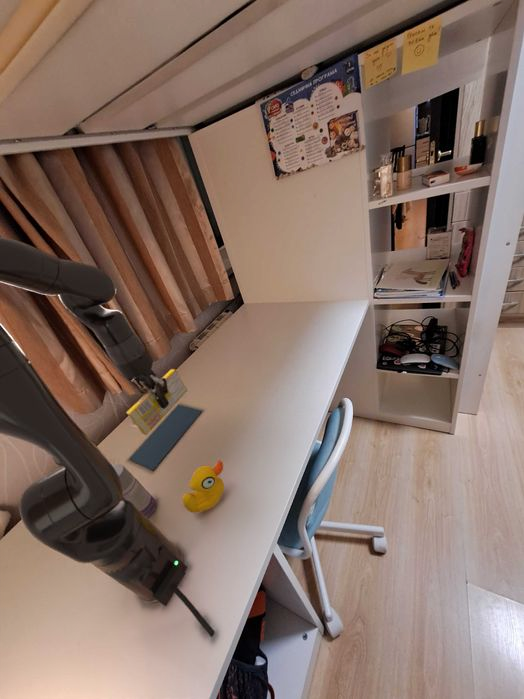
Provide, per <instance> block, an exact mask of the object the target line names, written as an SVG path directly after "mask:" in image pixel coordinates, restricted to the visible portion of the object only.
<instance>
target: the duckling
mask: <svg viewBox="0 0 524 699" xmlns="http://www.w3.org/2000/svg"><path fill="white" fill-rule="evenodd" d="M223 470H224V462H223V461H222V460H218V461H217V463H216V464H214V466H213V467H212V466H211V465H202V466H199V467H198V468H197V469H196V470H195V471H194V472H193V474H192V475H191V479H190V481H189V484H188V486H189V488H190V489H191V490H192V491H193V492H186V493H185V494H184V495H182V496H183V497H182V505H183V506H184V508H185V509H186V510H187V511H188V512H190V513H192V514H196V513H200V512H204V511H205V512H206V511H208V510H210V509H212V508H214V507H215V506H216V505H217V504H218V502H219V501H220V499H221V498H222V496H223V493H224V490H225V483H224V480H223V479H222V478H221V477H220V476H219V475H221V473H222V472H223Z"/></svg>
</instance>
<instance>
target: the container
mask: <svg viewBox="0 0 524 699" xmlns="http://www.w3.org/2000/svg"><path fill="white" fill-rule="evenodd" d="M112 466H113V467H114V469H115V471H116V472H117V474H118V476H119V478H120V481H121V483H122V487H123V497H122V499H126V500H128V501H130V502H131V503H133V504H134V505H135V506H136V507H137V508H138V509H139V510H140V511H141V512H142V513H143V514H144V515H145V516H146V517H147V518H148V517H150V516H151V515H152V514H153V512H154V511H155V509H156V507H157V501H156V499H155V498H154V497H153V496H152V495H151V493H149V491H148V490H147V489H146V487H145V486H144V485H142V483H141V482H140V481H139V480H138V479H137V478H136V477H135V476H134V475H133V474H132V472H130V471H129V470H128V469H127V467H126V466H124V464H122V463H119V462H118V463H115V464H112Z"/></svg>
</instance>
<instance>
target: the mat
mask: <svg viewBox="0 0 524 699" xmlns="http://www.w3.org/2000/svg"><path fill="white" fill-rule="evenodd" d="M202 413H203V410H201V409H197V408H193V407H189V406H186V405H182V404H178V405H177V406H176V407H174V409H173V410H172V411H171V412H170V413H169V414H168V416H167V417H166V418H165V419H164V420H163V421H162V422H161V423H160V424H159V425H158V426H157V427H156V429H155V430H154V431H153V432H152V433H151V434H150V435H149V436H148V437H147V439H146V440H144V442H143V443H142V444H141V445H140V446H139V447H138V448H137V450H136V451H135V452H134V453H133V454H132V455H131V456H130V457H129V458H128V459H129V460H130V461H132V462H134V463H135V464H138V465H140V466H142V467H145V468H146V469H148V470H150V471H153V472H154V471H155V470H156V469H157V467H158V466H159V465H160V464H161V462H162V461H163V460H164V459H165V458H166V457H167V455H168V454H169V453H170V452H171V451H172V449H173V448H174V447H175V445H176V444H177V443H178V442H179V441H180V439H181V438H182V437H183V436H184V435H185V433H186V432H187V431H188V430H189V429H190V427H191V426H192V425H193V424H194V422H195V421H196V420H197V419H198V418H199V417H200V415H201V414H202Z"/></svg>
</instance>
